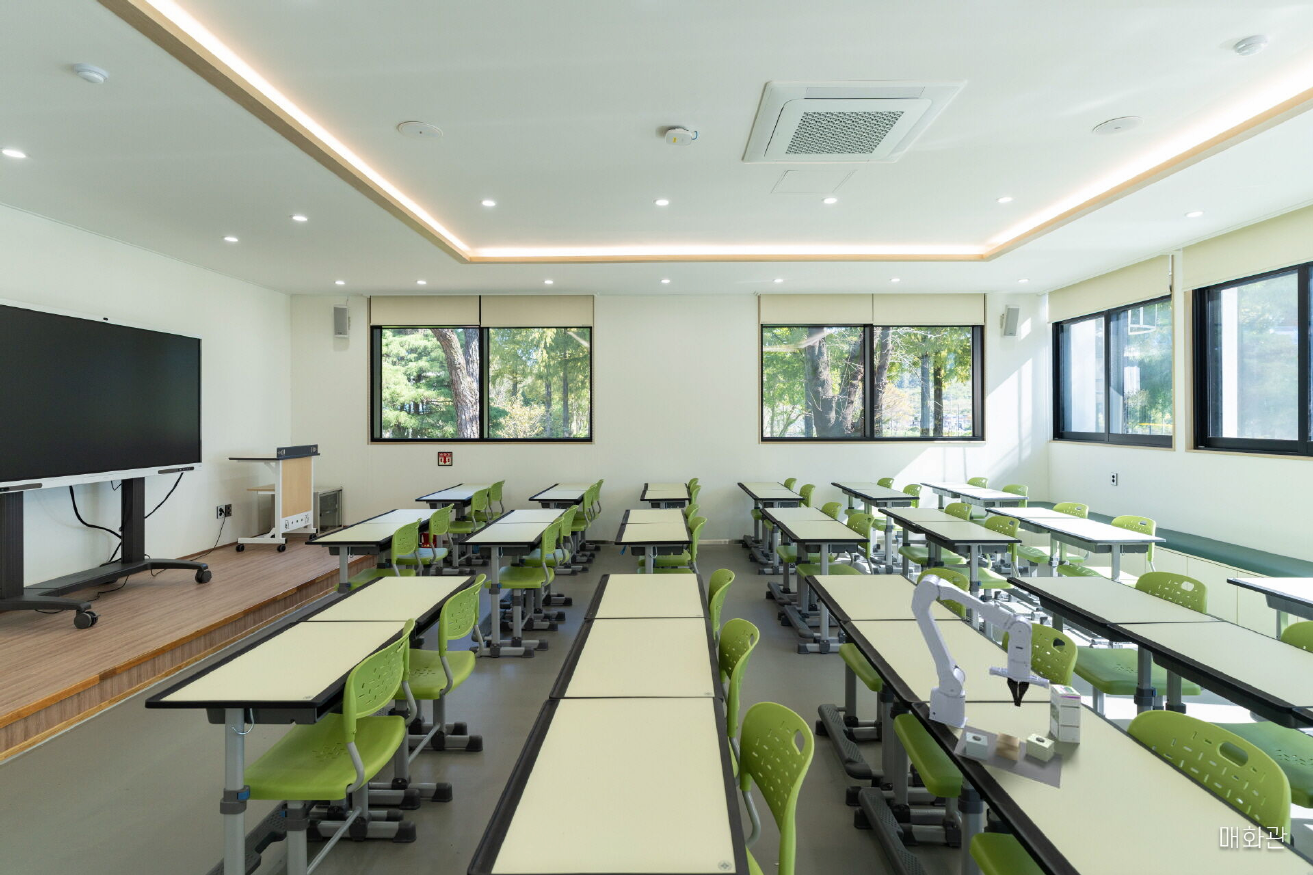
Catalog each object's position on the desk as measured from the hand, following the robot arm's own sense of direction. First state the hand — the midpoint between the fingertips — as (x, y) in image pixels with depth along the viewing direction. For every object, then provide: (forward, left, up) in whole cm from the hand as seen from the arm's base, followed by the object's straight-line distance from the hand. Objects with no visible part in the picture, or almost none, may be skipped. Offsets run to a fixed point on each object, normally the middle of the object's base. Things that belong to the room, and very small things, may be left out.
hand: (1017, 704), depth 165 cm
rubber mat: (-1, -11, -10) cm, 15 cm away
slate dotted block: (-8, -16, -10) cm, 20 cm away
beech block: (-1, -11, -10) cm, 15 cm away
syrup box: (+11, +9, -10) cm, 17 cm away
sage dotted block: (+6, -6, -10) cm, 13 cm away
